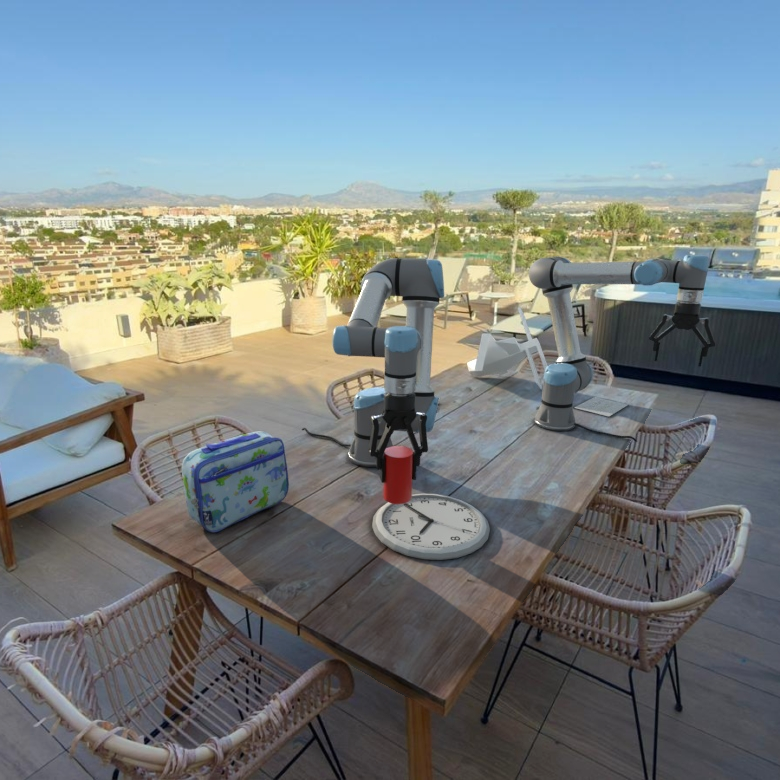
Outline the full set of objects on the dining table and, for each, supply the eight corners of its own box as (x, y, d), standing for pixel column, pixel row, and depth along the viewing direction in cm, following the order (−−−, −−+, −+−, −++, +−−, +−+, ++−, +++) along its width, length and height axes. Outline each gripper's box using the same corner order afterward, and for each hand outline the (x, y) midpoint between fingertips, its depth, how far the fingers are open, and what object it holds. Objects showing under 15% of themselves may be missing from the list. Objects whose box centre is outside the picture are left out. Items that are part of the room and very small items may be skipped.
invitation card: (608, 416, 214) (573, 407, 224) (608, 416, 214) (573, 408, 224) (628, 404, 229) (594, 396, 238) (628, 405, 229) (594, 397, 238)
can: (386, 505, 129) (387, 458, 125) (380, 491, 135) (381, 447, 132) (415, 502, 130) (416, 456, 127) (407, 489, 137) (408, 444, 133)
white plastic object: (487, 418, 267) (468, 395, 242) (469, 346, 289) (449, 318, 264) (558, 394, 255) (545, 368, 230) (533, 321, 277) (518, 289, 252)
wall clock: (505, 551, 121) (375, 556, 118) (504, 557, 121) (375, 562, 119) (474, 489, 149) (369, 491, 147) (474, 494, 150) (369, 497, 147)
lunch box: (202, 541, 125) (194, 461, 119) (183, 523, 133) (174, 447, 126) (293, 503, 143) (290, 432, 137) (271, 490, 150) (268, 421, 144)
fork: (425, 411, 216) (425, 407, 215) (435, 400, 230) (435, 396, 230) (431, 412, 215) (431, 408, 214) (441, 401, 229) (441, 396, 229)
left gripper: (361, 399, 119) (360, 489, 126) (445, 394, 124) (440, 482, 130) (355, 389, 126) (355, 475, 133) (435, 385, 130) (431, 469, 137)
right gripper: (647, 300, 180) (637, 360, 186) (732, 306, 168) (719, 370, 175) (649, 298, 186) (639, 356, 192) (731, 303, 175) (718, 365, 181)
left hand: (397, 478), depth 131 cm, fingers closed on can, 7 cm apart
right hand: (677, 362), depth 184 cm, fingers open, 13 cm apart
